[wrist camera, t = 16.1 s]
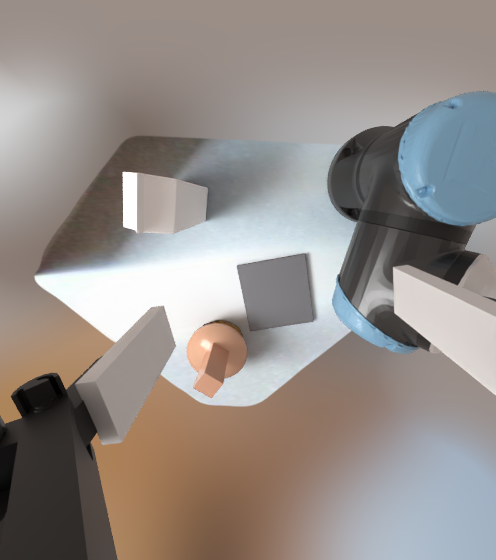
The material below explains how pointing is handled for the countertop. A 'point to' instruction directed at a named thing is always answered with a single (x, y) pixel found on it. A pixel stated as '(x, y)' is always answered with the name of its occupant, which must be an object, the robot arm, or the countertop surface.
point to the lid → (215, 356)
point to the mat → (276, 292)
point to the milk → (162, 203)
